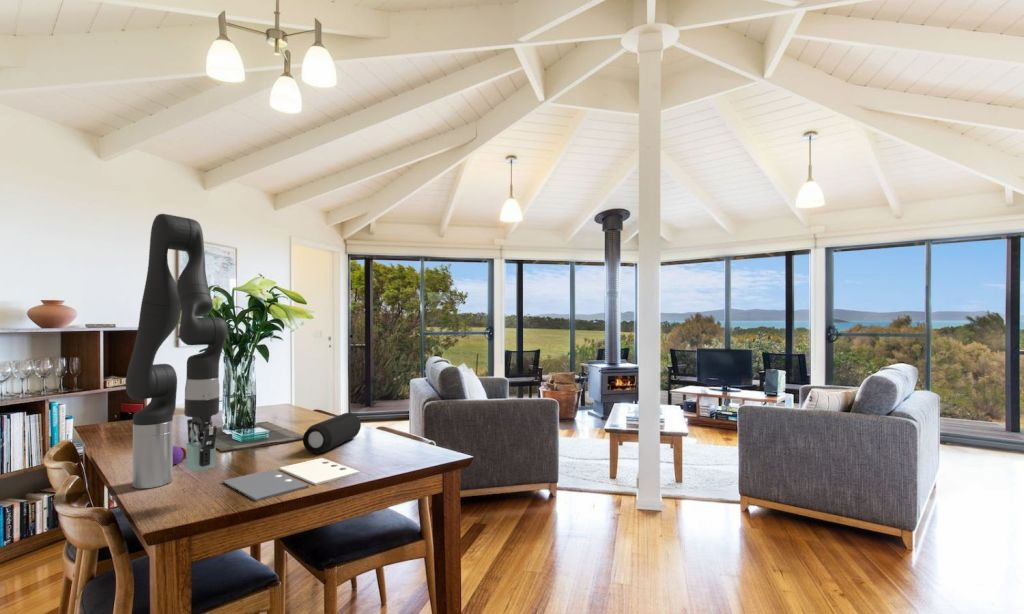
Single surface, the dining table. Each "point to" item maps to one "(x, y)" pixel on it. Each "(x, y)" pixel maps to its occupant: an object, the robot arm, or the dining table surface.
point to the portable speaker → (331, 432)
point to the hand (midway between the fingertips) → (200, 462)
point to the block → (197, 457)
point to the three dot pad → (319, 471)
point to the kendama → (178, 454)
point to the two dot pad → (265, 484)
